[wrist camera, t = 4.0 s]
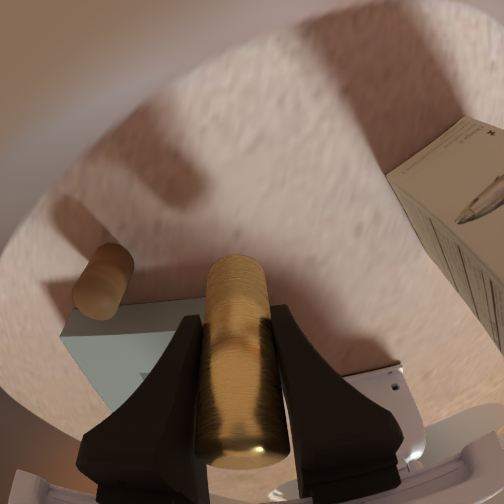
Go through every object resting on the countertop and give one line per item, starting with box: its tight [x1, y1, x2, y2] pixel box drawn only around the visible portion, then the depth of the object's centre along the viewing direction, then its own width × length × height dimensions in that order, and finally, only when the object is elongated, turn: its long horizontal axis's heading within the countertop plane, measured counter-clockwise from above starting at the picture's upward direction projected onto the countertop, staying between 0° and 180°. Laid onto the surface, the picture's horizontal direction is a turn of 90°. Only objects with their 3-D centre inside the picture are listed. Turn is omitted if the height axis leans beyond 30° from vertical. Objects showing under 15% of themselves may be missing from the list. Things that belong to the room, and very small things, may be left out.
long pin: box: [194, 255, 290, 470], centre depth 12 cm, size 3×3×9 cm
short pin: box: [72, 244, 134, 320], centre depth 18 cm, size 3×3×4 cm
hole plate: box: [59, 297, 206, 412], centre depth 23 cm, size 14×12×3 cm
